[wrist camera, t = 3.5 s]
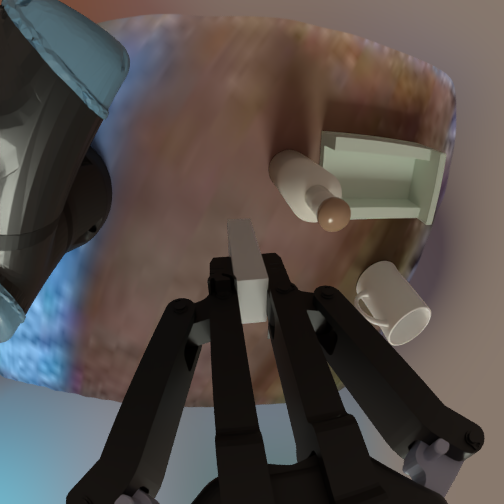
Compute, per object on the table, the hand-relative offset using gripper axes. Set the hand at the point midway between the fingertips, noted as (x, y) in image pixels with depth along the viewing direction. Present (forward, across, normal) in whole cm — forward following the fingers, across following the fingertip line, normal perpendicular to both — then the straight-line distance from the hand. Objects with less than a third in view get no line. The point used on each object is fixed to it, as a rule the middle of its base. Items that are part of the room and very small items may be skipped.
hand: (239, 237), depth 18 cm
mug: (+17, +24, -19) cm, 35 cm away
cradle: (+17, +20, 0) cm, 26 cm away
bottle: (+17, +8, 0) cm, 18 cm away
